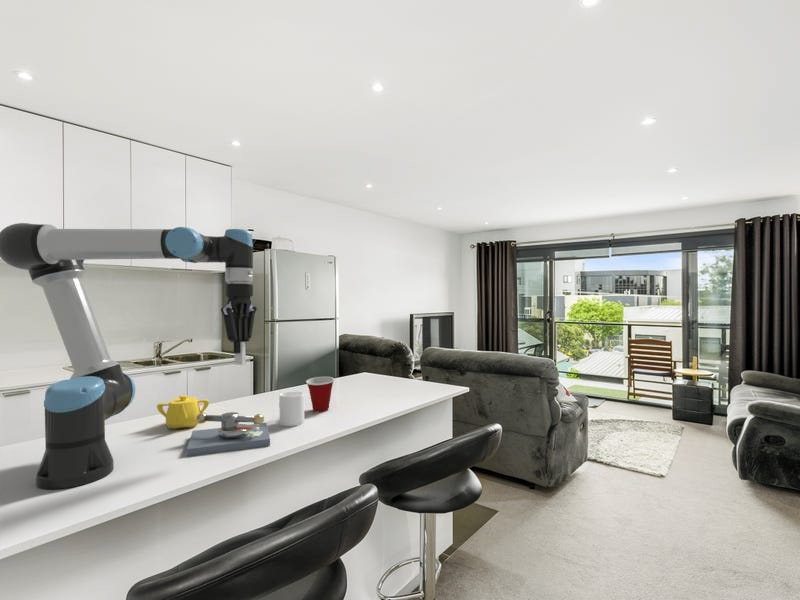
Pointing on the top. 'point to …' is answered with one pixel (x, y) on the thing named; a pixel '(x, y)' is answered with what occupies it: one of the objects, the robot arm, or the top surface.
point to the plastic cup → (320, 392)
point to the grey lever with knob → (231, 423)
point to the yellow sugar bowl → (182, 411)
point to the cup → (291, 408)
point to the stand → (226, 440)
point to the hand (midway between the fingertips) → (240, 364)
